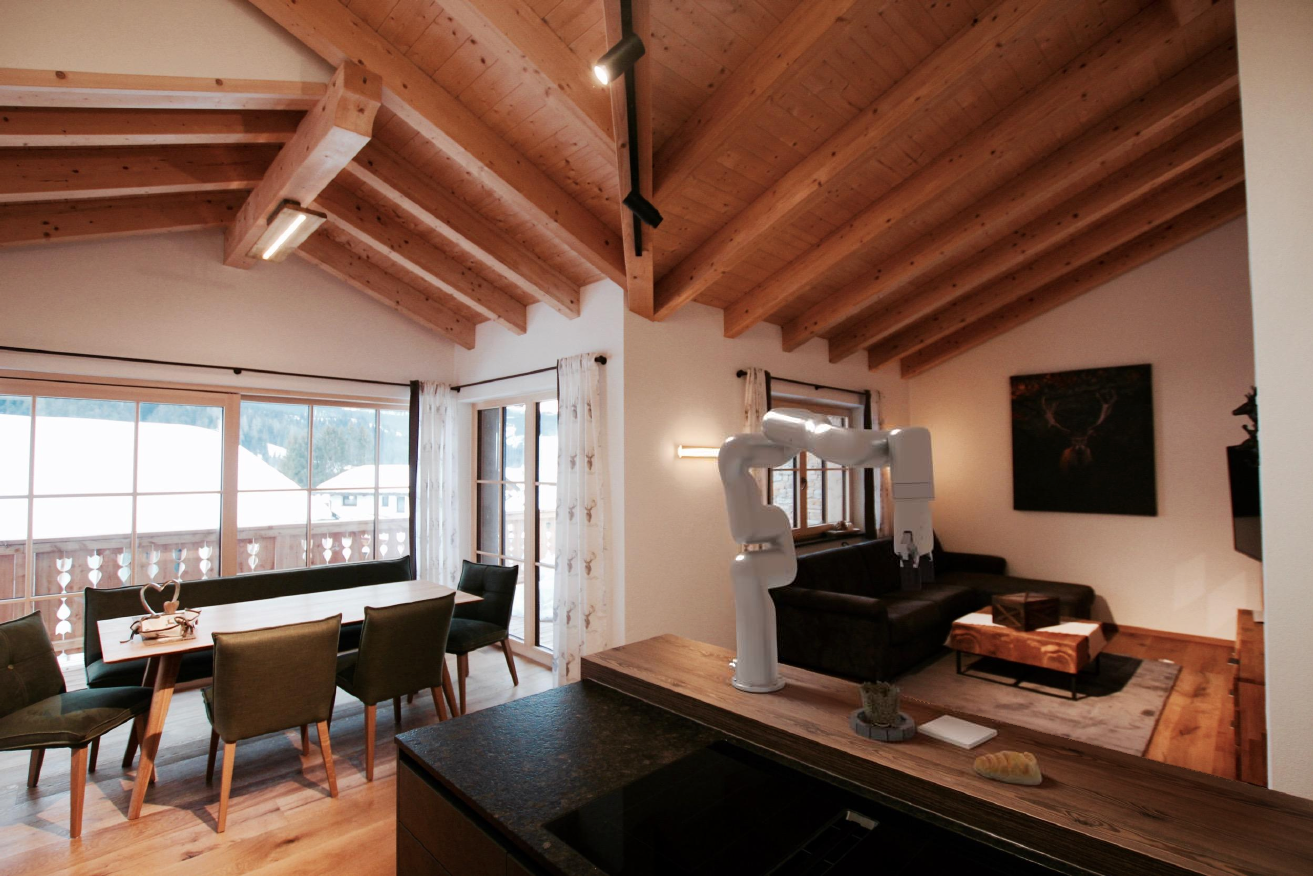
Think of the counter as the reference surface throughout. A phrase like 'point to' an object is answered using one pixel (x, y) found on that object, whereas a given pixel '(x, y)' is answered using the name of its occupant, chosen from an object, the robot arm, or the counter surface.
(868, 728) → the stone ring
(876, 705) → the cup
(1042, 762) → the counter surface
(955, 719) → the stone coaster
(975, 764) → the pastry
